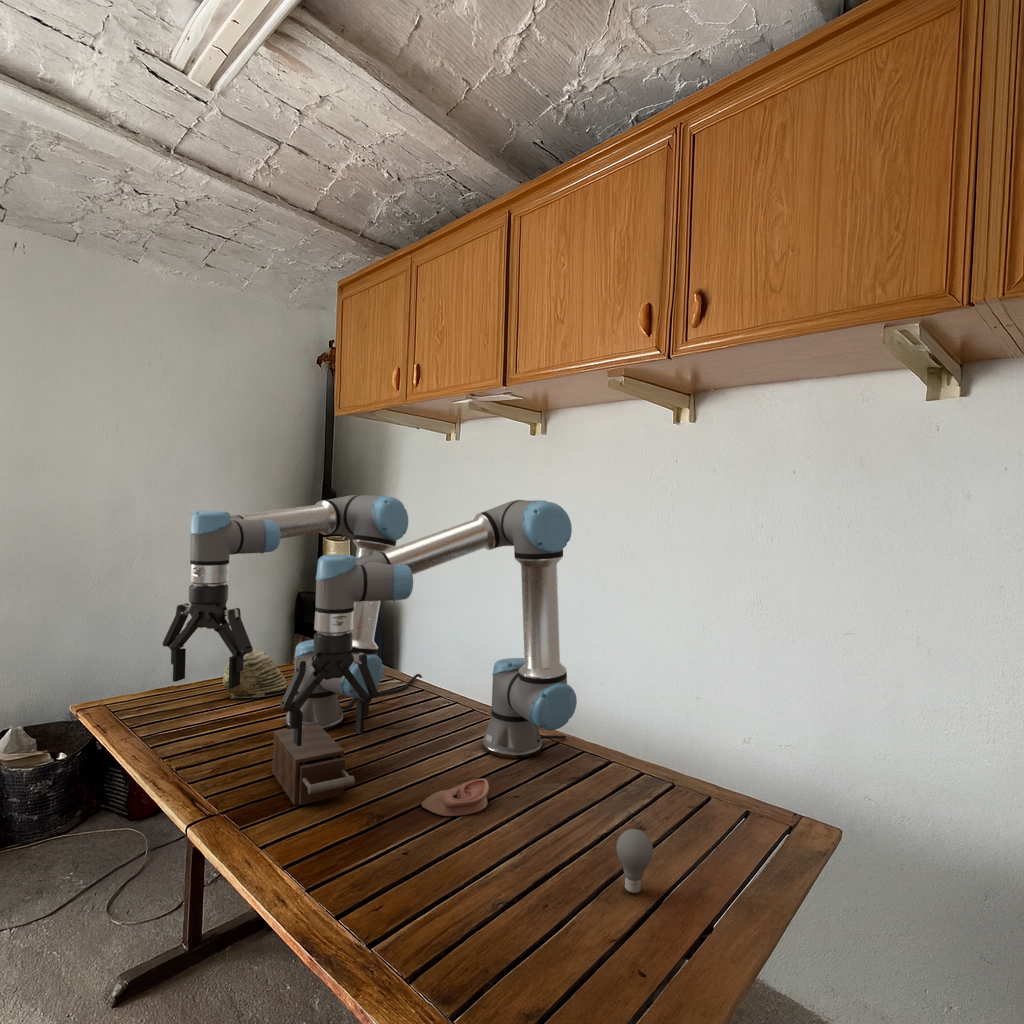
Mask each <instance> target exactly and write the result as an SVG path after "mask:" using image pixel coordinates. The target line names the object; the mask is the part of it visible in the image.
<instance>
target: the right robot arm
mask: <svg viewBox="0 0 1024 1024" xmlns="http://www.w3.org/2000/svg"><path fill="white" fill-rule="evenodd" d="M572 529H573V526H572V522H571V518H570V516H569V514H568V513H567V511H566V510H565V509H564V508H563V507H562V506H561V505H559V504H558V503H556V502H553V501H548V500H543V499H542V500H541V499H538V500H531V499H530V500H529V499H528V500H526V499H516V500H510V501H508V502H505V503H503V504H500V505H497V506H494V507H492V508H490V509H487V510H484V511H482V512H479V513H476V514H475V516H474V519H471V520H469V521H465V522H463V523H459V524H457V525H454V526H451V527H449V528H446V529H443V530H440V531H437V532H434V533H431V534H429V535H426V536H423V537H420V538H417V539H415V540H412V541H409V542H405V543H403V544H400V545H396V546H395V547H394V548H392V549H389V550H386V551H383V552H381V553H377V554H374V555H372V556H369V557H365V556H364V557H362V556H361V557H356V556H354V555H352V554H351V555H350V554H336V553H335V554H324V555H322V556H320V557H319V558H318V559H317V565H316V575H315V610H314V611H315V612H314V627H313V630H314V631H316V632H315V633H313V640H314V654H313V657H312V659H309V660H303V659H301V658H299V659H297V661H296V670H295V672H293V675H292V677H291V679H290V682H289V683H288V686H287V687H286V690H285V691H284V693H283V697H282V698H281V701H280V703H279V706H280V708H281V709H282V710H283V711H284V712H288V711H290V720H289V725H290V727H291V728H292V729H294V743H295V744H296V745H297V746H301V742H302V717H303V713H302V711H301V710H300V708H301V707H302V706H303V704H304V703H305V701H306V700H307V699H308V697H309V696H310V695H311V693H312V692H313V690H314V689H315V688H316V686H317V685H318V684H319V683H321V681H322V680H323V679H325V680H328V679H332V678H341V677H342V676H344V677H345V678H346V679H347V681H348V682H349V683H350V685H351V686H352V687H353V689H354V690H355V691H356V692H357V694H358V695H359V696H360V698H361V699H358V700H356V709H355V710H356V711H355V732H356V733H357V734H358V735H359V736H364V735H365V718H368V717H369V714H370V704H371V702H372V701H373V699H377V698H378V697H379V696H378V693H379V692H378V689H377V688H376V686H375V684H374V681H373V679H372V676H371V674H370V671H369V668H368V666H367V656H366V655H365V654H364V653H362V652H359V653H358V654H356V655H352V641H353V634H352V633H351V632H350V631H351V630H352V629H353V614H354V602H357V601H358V602H362V601H380V602H382V601H383V602H384V601H392V602H396V601H401V600H402V601H403V600H407V599H409V598H410V597H411V595H412V593H413V590H414V575H416V574H419V573H421V572H424V571H427V570H429V569H432V568H435V567H437V566H441V565H443V564H446V563H448V562H451V561H454V560H457V559H459V558H461V557H465V556H466V555H470V554H472V553H475V552H477V551H480V550H483V549H485V550H487V551H491V550H494V549H497V548H501V547H513V548H514V549H513V553H514V560H516V561H517V563H518V564H520V570H521V571H520V572H521V598H522V599H521V601H522V626H523V627H522V629H523V656H524V657H508V658H502V659H499V660H496V661H495V662H494V664H493V669H492V689H491V715H490V719H489V722H488V724H487V727H486V731H485V733H484V735H483V739H482V748H483V750H484V751H485V752H487V753H488V754H490V755H493V756H495V757H499V758H503V759H514V760H515V759H527V758H531V757H535V756H536V755H538V754H540V753H541V751H542V745H543V744H542V743H543V741H542V740H566V738H567V737H566V735H550V734H549V735H541V733H540V729H541V730H545V731H557V730H559V729H561V728H563V727H564V726H565V725H566V724H567V723H569V721H570V719H572V717H573V716H574V714H575V712H576V708H577V702H578V698H577V694H576V692H575V690H574V689H573V687H572V686H571V685H570V684H568V671H567V667H566V666H565V665H564V664H563V663H562V662H561V648H560V647H561V645H560V642H561V641H560V616H559V615H560V614H559V582H558V580H559V579H558V578H559V577H558V564H559V562H560V561H561V560H562V559H563V558H564V548H566V547H567V545H568V542H570V540H571V537H572V533H573V532H572V531H573V530H572ZM353 661H355V663H356V664H357V665H358V667H359V670H360V672H361V675H362V677H363V680H364V682H365V685H366V687H367V690H368V692H367V693H366V692H365V690H364V689H363V688H362V687H361V685H360V684H359V683H358V681H357V680H356V679H355V677H354V676H353V674H352V673H351V672H350V670H349V667H350V666H351V664H352V663H353ZM310 666H312V667H313V668H314V669H315V670H314V671H313V673H312V674H311V675H310V678H309V680H308V681H307V682H306V684H305V685H304V686H303V688H302V689H301V691H300V692H299V693H298V695H297V696H296V697H295V695H296V693H297V691H298V689H299V686H300V684H301V682H302V680H303V678H304V675H305V671H307V670H308V669H309V667H310ZM294 697H295V699H294ZM539 728H540V729H539Z"/></svg>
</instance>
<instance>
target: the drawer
mask: <svg viewBox="0 0 1024 1024" xmlns="http://www.w3.org/2000/svg"><path fill="white" fill-rule="evenodd" d="M355 783H356V779H355V777H354V775H349V773H348V772H347V771H346V758H345V757H344V758H338V759H337V756H333V757H328V758H323V759H318V760H313V761H307V762H302V763H300V769H299V805H300V806H303V805H309V804H312V803H317V802H320V801H325V800H329V799H334V798H339V797H343V796H344V795H345V787H348V786H353V785H355Z"/></svg>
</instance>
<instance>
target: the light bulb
mask: <svg viewBox="0 0 1024 1024" xmlns="http://www.w3.org/2000/svg"><path fill="white" fill-rule="evenodd" d="M615 849H616V854H617V857H618V859H619V861H620V863H621V865H622V867H623V873H624V874H623V875H624V876H625V878H624V888H625V890H627V891H628V892H630V893H634V894H635V893H639V892H640V891H641V889H642V887H641V886H642V879H643V877H644V875H645V871H646V868H647V867H648V866H649V864H650V863H651V861H652V859H653V855H654V847H653V843H652V841H651V838H649V836H648V835H647V834H646V833H645V832H643V831H642V830H641V829H636V828H629V829H627V830H625V831H623V832H622V833H621V834H620V835H619V837H618V839H617V841H616V847H615Z"/></svg>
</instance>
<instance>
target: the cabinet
mask: <svg viewBox="0 0 1024 1024" xmlns="http://www.w3.org/2000/svg"><path fill="white" fill-rule="evenodd" d="M272 743H273V745H272V770H271V771H272V775H273V776H274V777H275V779H276V781H277V782H278V783H279V785H280V786H281V788H282V790H283V791H284V793H285V794H286V796H287V798H288V799H289V800H290V802H291V803H292V804H293V805H294V806H298V805H300V804H299V769H300V763H302V762H307V761H313V760H318V759H323V758H328V757H333V756H337V759H338V758H344V759H345V750H344V749H343V747H341V746H340V745H339V744H338V743H337V742H336V741H335V740H334V738H332V736H330V734H329V733H327V731H326V730H325V731H324V730H323V729H322V728H321V727H320V725H319V724H317V725H311V726H305V727H302V742H301V746H297V745H296V744H295V743H294V729H289V728H287V729H282V730H280V729H279V730H275V731H273V742H272Z"/></svg>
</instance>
